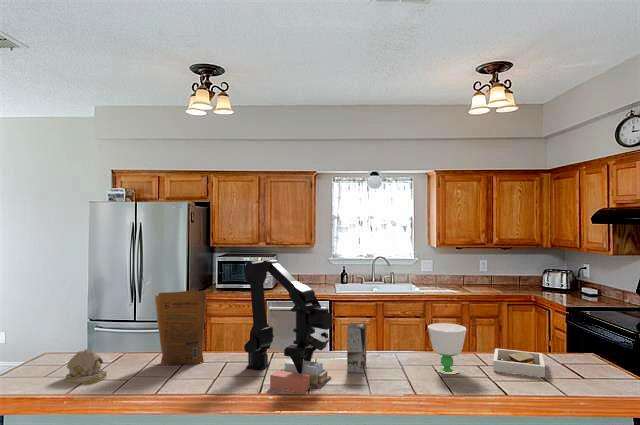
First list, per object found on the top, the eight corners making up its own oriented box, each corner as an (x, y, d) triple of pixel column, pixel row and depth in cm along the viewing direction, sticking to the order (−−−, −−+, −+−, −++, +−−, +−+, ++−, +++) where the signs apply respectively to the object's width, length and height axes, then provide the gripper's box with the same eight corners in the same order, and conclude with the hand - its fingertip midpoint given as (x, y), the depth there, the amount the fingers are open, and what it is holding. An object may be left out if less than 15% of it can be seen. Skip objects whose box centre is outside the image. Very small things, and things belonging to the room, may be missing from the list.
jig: (276, 381, 154) (276, 371, 154) (290, 372, 163) (290, 363, 163) (319, 388, 148) (319, 378, 148) (330, 378, 157) (330, 368, 157)
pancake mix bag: (204, 366, 170) (204, 291, 171) (153, 366, 170) (154, 292, 170) (208, 360, 177) (208, 289, 177) (159, 360, 176) (160, 289, 177)
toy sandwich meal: (491, 362, 175) (491, 350, 175) (525, 362, 175) (525, 350, 175) (506, 373, 162) (506, 360, 162) (543, 373, 163) (543, 360, 163)
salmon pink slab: (270, 388, 148) (270, 375, 148) (277, 383, 153) (277, 370, 153) (303, 394, 143) (303, 380, 143) (309, 388, 148) (309, 375, 148)
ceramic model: (57, 381, 154) (57, 352, 154) (82, 371, 165) (82, 343, 165) (91, 385, 150) (91, 355, 151) (114, 374, 161) (115, 346, 161)
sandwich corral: (493, 371, 164) (493, 360, 164) (495, 358, 179) (495, 348, 179) (544, 378, 157) (544, 366, 157) (542, 363, 172) (542, 353, 172)
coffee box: (364, 373, 162) (364, 328, 162) (346, 372, 163) (346, 327, 163) (366, 365, 171) (366, 322, 171) (350, 364, 172) (350, 321, 172)
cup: (425, 374, 161) (424, 329, 161) (430, 362, 174) (430, 321, 174) (465, 379, 156) (465, 333, 156) (468, 367, 169) (467, 324, 169)
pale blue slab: (284, 377, 155) (284, 362, 155) (291, 372, 160) (291, 358, 160) (316, 382, 151) (316, 366, 151) (322, 377, 155) (322, 362, 155)
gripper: (314, 334, 144) (313, 383, 144) (335, 321, 161) (335, 365, 161) (283, 330, 148) (283, 378, 148) (307, 319, 165) (307, 361, 165)
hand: (303, 370), depth 155 cm, fingers open, 6 cm apart
